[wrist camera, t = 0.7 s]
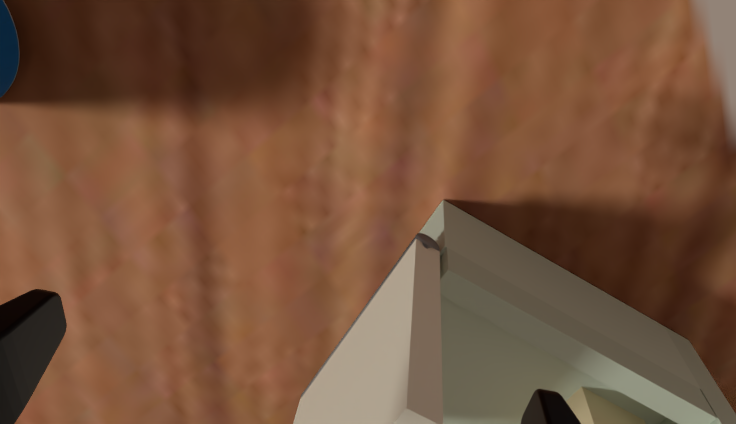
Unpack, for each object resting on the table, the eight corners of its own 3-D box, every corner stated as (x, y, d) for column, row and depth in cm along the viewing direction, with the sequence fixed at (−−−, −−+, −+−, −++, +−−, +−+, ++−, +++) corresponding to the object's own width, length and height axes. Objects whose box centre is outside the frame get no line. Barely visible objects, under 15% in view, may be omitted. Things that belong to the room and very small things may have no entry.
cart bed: (551, 460, 30) (580, 585, 24) (335, 349, 28) (309, 456, 22) (689, 340, 25) (764, 459, 20) (443, 199, 24) (446, 284, 18)
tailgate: (303, 387, 25) (323, 397, 25) (243, 594, 17) (272, 607, 17) (416, 229, 20) (439, 242, 20) (406, 408, 13) (443, 426, 13)
